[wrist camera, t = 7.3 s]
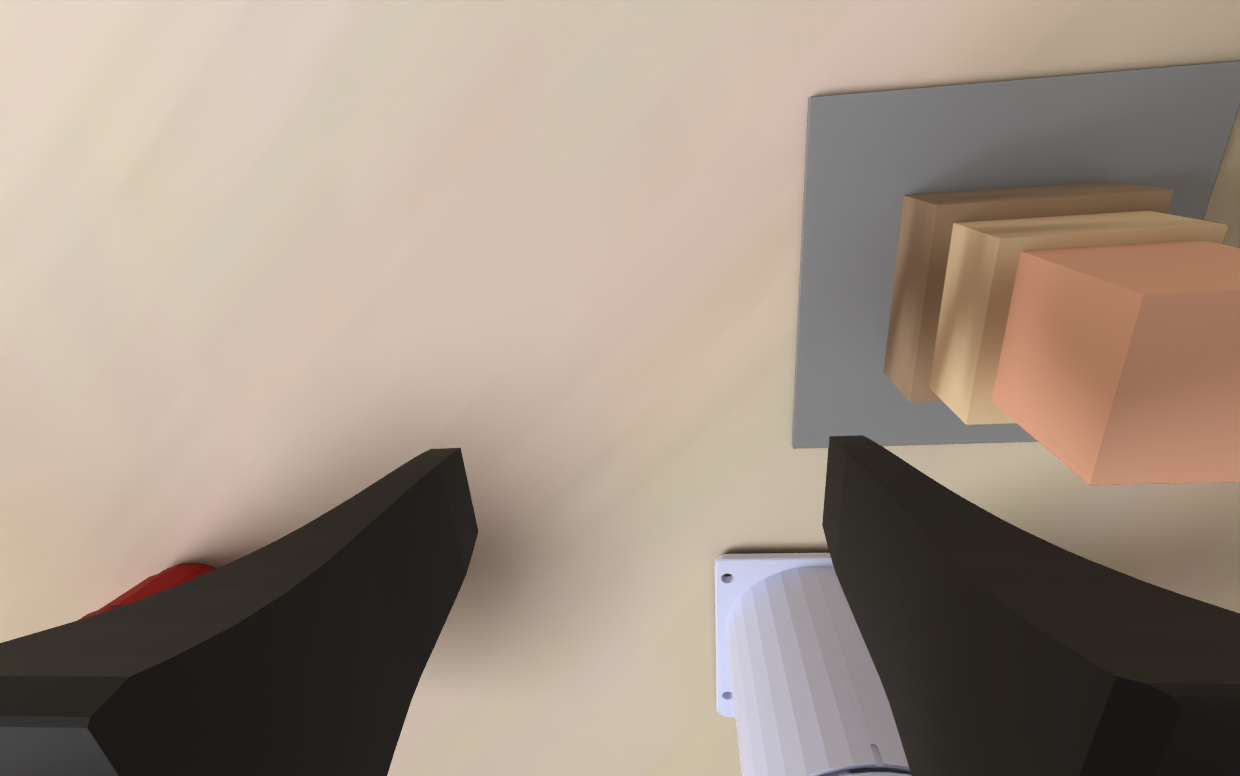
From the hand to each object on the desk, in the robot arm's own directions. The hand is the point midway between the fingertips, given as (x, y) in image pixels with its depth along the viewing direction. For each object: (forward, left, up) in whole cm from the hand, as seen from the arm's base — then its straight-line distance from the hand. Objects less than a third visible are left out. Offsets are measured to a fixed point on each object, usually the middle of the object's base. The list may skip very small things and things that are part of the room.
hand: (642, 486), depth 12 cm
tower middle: (+1, -11, -8) cm, 13 cm away
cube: (+1, -11, -5) cm, 12 cm away
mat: (+1, -11, -10) cm, 15 cm away
